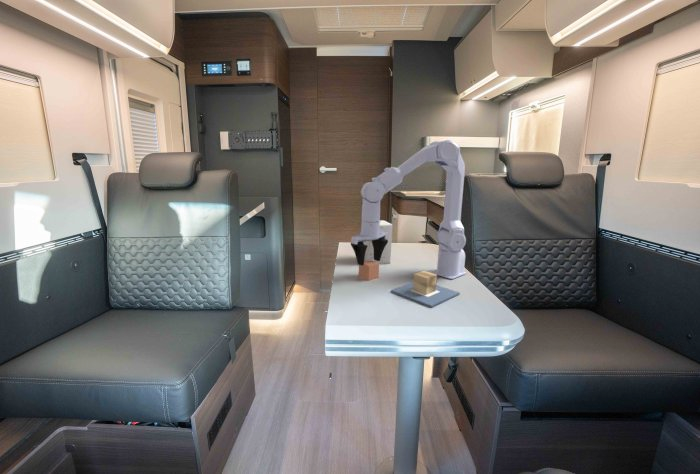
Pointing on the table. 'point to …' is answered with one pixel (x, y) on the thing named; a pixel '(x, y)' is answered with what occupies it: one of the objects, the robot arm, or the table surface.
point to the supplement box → (387, 250)
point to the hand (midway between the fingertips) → (368, 262)
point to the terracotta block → (369, 270)
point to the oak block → (424, 282)
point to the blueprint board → (429, 299)
